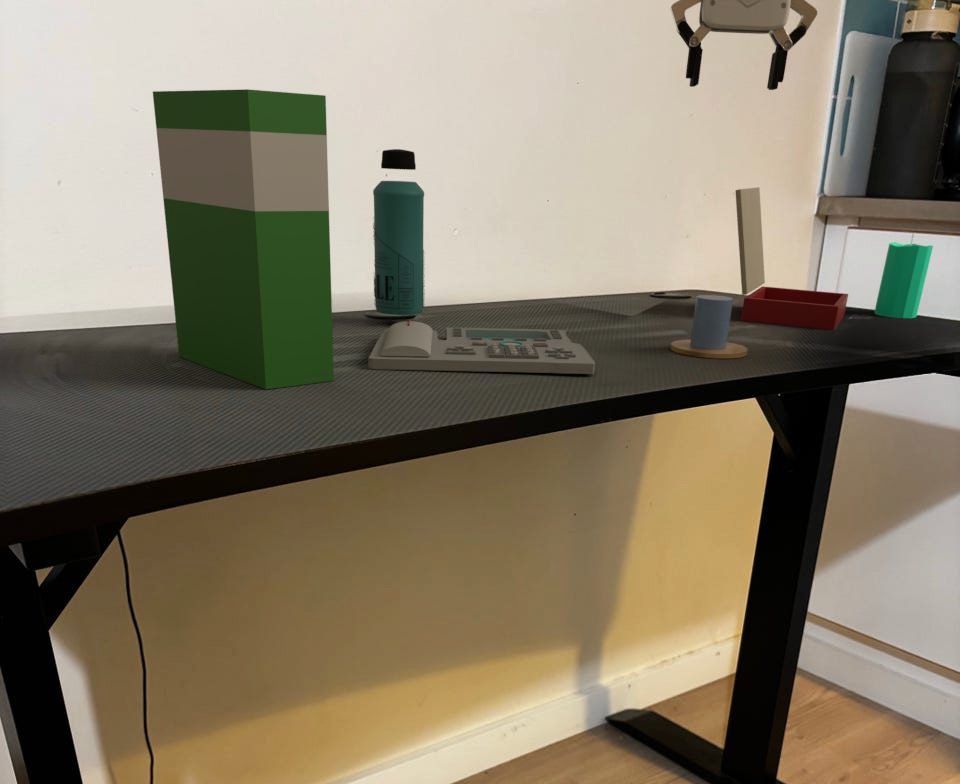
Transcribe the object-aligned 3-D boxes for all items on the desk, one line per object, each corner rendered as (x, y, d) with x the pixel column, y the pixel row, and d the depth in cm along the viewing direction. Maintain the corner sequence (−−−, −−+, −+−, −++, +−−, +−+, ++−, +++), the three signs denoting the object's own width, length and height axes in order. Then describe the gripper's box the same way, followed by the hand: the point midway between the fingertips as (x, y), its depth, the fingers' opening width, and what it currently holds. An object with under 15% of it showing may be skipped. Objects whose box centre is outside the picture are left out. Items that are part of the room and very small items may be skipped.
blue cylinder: (728, 345, 116) (736, 297, 113) (722, 350, 112) (729, 301, 110) (694, 341, 117) (700, 293, 114) (686, 346, 114) (693, 297, 111)
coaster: (752, 349, 117) (753, 344, 117) (739, 361, 110) (740, 356, 109) (679, 341, 120) (680, 336, 120) (662, 353, 113) (662, 347, 112)
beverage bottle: (432, 321, 126) (434, 150, 117) (412, 329, 120) (413, 150, 111) (386, 317, 128) (385, 148, 119) (364, 324, 122) (362, 147, 113)
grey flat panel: (759, 187, 139) (754, 188, 139) (740, 189, 126) (735, 190, 127) (764, 283, 144) (760, 283, 144) (747, 294, 131) (742, 295, 132)
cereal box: (179, 356, 100) (152, 91, 89) (243, 349, 104) (225, 96, 94) (265, 389, 88) (247, 89, 78) (333, 380, 93) (325, 95, 82)
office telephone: (367, 345, 97) (380, 313, 115) (368, 371, 98) (380, 336, 116) (596, 350, 98) (574, 318, 116) (594, 376, 99) (572, 340, 117)
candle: (921, 323, 142) (942, 235, 136) (881, 321, 142) (900, 233, 136) (906, 317, 147) (925, 232, 142) (867, 315, 147) (885, 230, 142)
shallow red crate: (843, 320, 142) (848, 293, 140) (832, 335, 129) (838, 306, 127) (757, 312, 146) (762, 286, 144) (739, 325, 133) (744, 297, 132)
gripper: (685, -93, 108) (665, 82, 116) (840, -88, 108) (810, 89, 115) (677, -79, 115) (659, 86, 123) (824, -74, 114) (796, 92, 122)
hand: (732, 87), depth 119 cm, fingers open, 9 cm apart
